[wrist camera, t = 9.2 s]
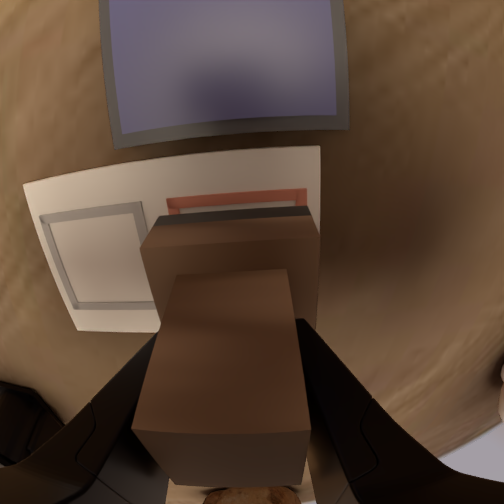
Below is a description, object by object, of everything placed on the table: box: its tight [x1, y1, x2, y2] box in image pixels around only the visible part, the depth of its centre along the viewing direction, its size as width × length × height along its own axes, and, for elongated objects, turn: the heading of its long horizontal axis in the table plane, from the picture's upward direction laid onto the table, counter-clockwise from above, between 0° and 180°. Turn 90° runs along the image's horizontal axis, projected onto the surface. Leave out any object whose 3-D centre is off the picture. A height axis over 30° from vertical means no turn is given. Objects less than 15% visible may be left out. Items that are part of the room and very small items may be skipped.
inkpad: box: [99, 0, 349, 150], centre depth 8 cm, size 8×8×1 cm
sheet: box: [23, 145, 320, 332], centre depth 13 cm, size 12×8×1 cm, turn 94°
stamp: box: [131, 205, 321, 488], centre depth 8 cm, size 5×5×7 cm
